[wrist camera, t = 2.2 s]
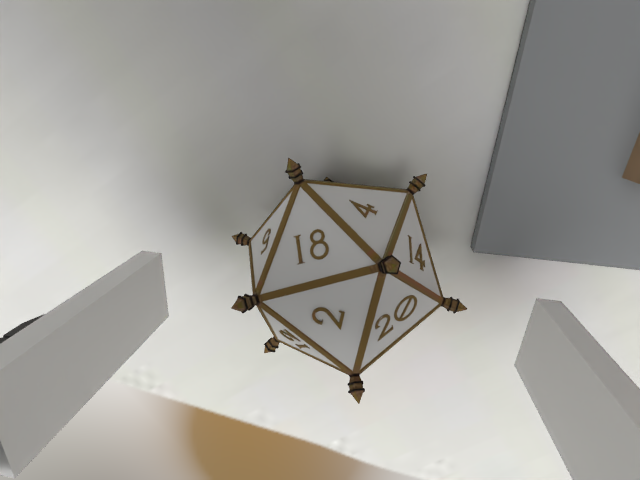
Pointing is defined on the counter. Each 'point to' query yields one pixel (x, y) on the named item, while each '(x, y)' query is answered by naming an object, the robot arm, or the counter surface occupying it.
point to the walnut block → (633, 164)
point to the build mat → (568, 139)
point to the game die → (342, 272)
